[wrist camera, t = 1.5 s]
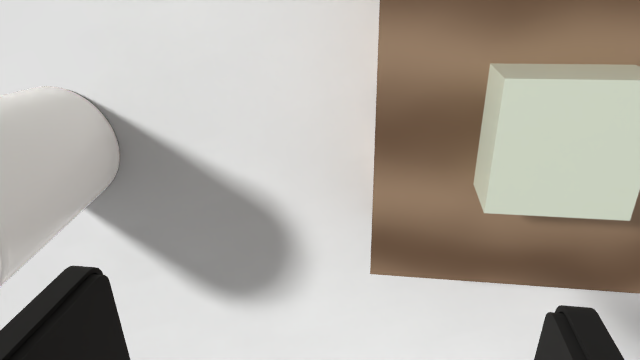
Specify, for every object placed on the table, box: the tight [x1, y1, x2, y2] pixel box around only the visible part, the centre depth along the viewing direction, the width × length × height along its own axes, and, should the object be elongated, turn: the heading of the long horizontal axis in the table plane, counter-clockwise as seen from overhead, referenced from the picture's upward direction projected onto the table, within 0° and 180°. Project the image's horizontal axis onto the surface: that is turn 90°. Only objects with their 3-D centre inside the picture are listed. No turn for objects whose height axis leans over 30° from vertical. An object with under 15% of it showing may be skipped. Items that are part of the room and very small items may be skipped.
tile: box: [473, 63, 640, 221], centre depth 20 cm, size 6×6×3 cm
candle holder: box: [0, 86, 120, 288], centre depth 27 cm, size 10×10×12 cm
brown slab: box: [370, 0, 640, 293], centre depth 24 cm, size 18×20×6 cm
